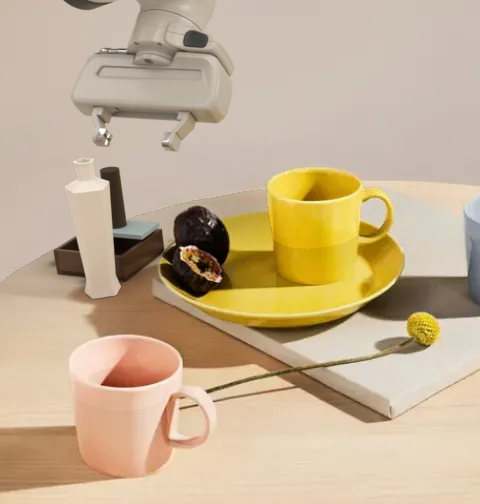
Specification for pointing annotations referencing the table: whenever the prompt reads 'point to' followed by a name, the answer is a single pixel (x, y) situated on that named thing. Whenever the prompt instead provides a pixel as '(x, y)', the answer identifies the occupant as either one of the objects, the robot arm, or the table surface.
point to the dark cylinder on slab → (123, 210)
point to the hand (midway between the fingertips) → (134, 146)
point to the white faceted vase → (93, 229)
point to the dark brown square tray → (125, 253)
